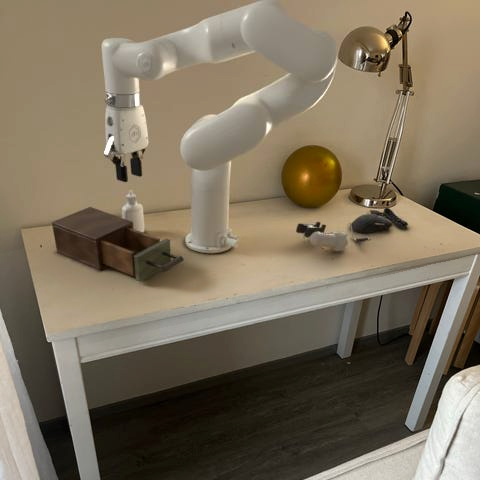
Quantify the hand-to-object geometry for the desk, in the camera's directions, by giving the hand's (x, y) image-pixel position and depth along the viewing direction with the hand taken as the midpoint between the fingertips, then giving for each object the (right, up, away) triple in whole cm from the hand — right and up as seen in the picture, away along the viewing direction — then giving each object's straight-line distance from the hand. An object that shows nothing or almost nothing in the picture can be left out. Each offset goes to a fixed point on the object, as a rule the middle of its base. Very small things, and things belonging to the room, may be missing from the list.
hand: (129, 177), depth 126 cm
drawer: (+5, -23, -8) cm, 25 cm away
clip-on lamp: (+52, -16, +9) cm, 55 cm away
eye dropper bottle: (-1, -13, +9) cm, 16 cm away
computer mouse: (+66, -7, +22) cm, 70 cm away
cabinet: (-8, -19, -1) cm, 20 cm away
